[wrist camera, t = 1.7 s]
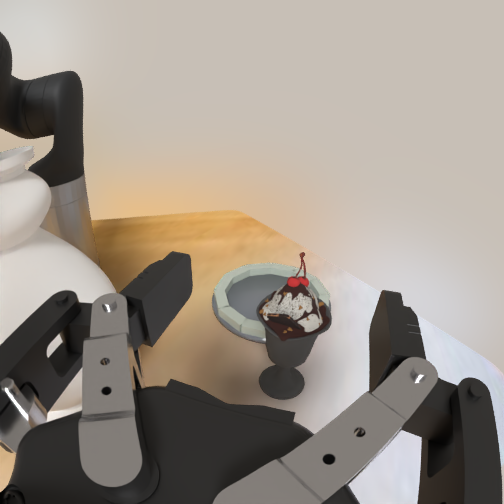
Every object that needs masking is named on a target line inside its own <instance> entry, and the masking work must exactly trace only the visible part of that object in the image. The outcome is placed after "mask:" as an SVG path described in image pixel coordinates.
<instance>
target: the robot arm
mask: <svg viewBox="0 0 504 504" xmlns="http://www.w3.org/2000/svg"><path fill="white" fill-rule="evenodd" d="M11 71H12V53H11V48H10V45H9V42H8V41H7V39H6V38H5V36H4V35H3V34H2V33H1V32H0V128H1V129H4V130H5V131H7V132H10V133H12V134H14V135H16V136H18V137H21V138H25V139H35V138H40V137H45V136H50V135H54V144H53V148H52V149H51V151H50V152H49V153H48V154H47V155H46V156H45V157H44V158H42V159H40V160H39V161H37V162H36V163H34V164H33V165H32V166H30V167H29V169H28V171H30V172H32V173H34V174H36V175H38V176H39V177H41V178H42V179H43V180H44V181H45V182H46V183H47V184H48V186H49V188H50V191H51V205H50V208H49V210H48V212H47V214H46V216H45V218H44V220H43V221H42V223H41V225H40V226H39V227H40V228H42V229H44V230H46V231H48V232H50V233H51V234H53V235H55V236H57V237H59V238H61V239H62V240H64V241H66V242H67V243H69V244H71V245H72V246H74V247H75V248H77V249H78V250H80V251H81V252H82V253H83V254H85V255H86V256H87V257H88V258H90V259H91V260H92V261H93V262H94V263H95V264H96V265H97V266H98V267H99V268H100V263H99V258H98V254H97V249H96V244H95V239H94V234H93V228H92V223H91V217H90V211H89V204H88V197H87V192H86V191H87V190H86V182H85V174H84V166H83V157H84V148H83V88H82V83H81V80H80V77H79V76H78V74H77V73H75V72H73V71H65V72H61V73H56V74H52V75H48V76H44V77H41V78H37V79H33V80H21V79H18V78H16V77H14V76H12V75H11ZM100 269H101V268H100ZM192 286H193V284H192V270H191V258H190V255H189V254H184V253H179V252H174V251H172V252H171V253H169V254H168V255H167V256H166V257H165V258H164V259H163V260H159V261H157V262H155V263H153V264H151V265H149V266H148V267H147V268H146V269H145V270H144V271H143V273H142V272H141V273H140V274H139V275H138V276H137V278H135V279H134V280H133V281H132V282H131V283H130V284H129V285H128V286H126V287H125V288H124V289H123V290H122V291H121V292H120V293H119V294H118V293H109V294H105V295H102V296H100V297H98V298H97V299H96V300H95V301H94V302H93V303H83V302H79V300H78V297H77V294H76V293H75V292H74V291H71V290H63V291H59V292H57V293H55V294H53V295H52V296H51V297H50V298H49V299H47V300H46V301H45V302H44V303H43V304H42V305H41V306H40V307H39V308H38V309H37V310H36V311H34V312H33V313H32V314H31V315H30V316H29V317H28V318H27V319H26V320H25V321H24V322H23V323H22V324H21V325H20V326H19V327H18V328H17V329H16V330H15V331H14V332H13V333H12V334H11V335H10V336H9V337H8V338H7V339H6V340H5V341H4V342H3V343H2V344H1V345H0V446H2V447H3V448H4V449H5V450H6V451H8V452H11V453H15V454H16V459H15V465H14V469H13V473H12V476H11V479H10V481H9V483H8V485H7V487H6V488H5V489H4V490H3V491H2V492H0V504H360V503H359V502H358V500H357V498H356V497H355V495H354V494H353V492H352V491H351V489H350V487H349V486H348V485H349V484H350V483H351V482H352V481H353V480H354V479H355V478H356V477H357V476H359V475H360V474H361V473H362V472H363V471H364V470H365V469H366V468H367V467H368V466H369V465H370V464H371V463H372V462H373V461H374V459H375V458H376V457H377V456H378V455H379V454H380V453H381V452H382V451H383V450H384V449H385V448H386V447H387V446H388V445H389V444H390V443H391V441H392V440H393V439H394V438H395V437H396V436H397V435H398V434H399V432H400V431H401V430H404V431H406V432H409V433H411V434H414V435H417V436H420V437H422V449H421V470H420V484H419V494H418V504H502V476H501V462H500V452H499V443H498V435H497V429H496V422H495V416H494V411H493V405H492V400H491V396H490V392H489V390H488V388H487V386H486V385H485V384H484V383H483V382H482V381H480V380H478V379H476V378H465V379H463V380H462V381H461V382H460V383H459V385H458V386H457V385H455V384H452V383H449V382H447V381H444V380H442V379H440V378H438V373H437V370H436V368H435V367H434V366H433V365H432V364H431V363H430V362H429V361H427V360H426V356H425V351H424V346H423V341H422V336H421V335H420V333H421V332H420V327H419V323H418V318H417V315H416V314H415V313H414V311H412V309H411V308H410V307H406V306H403V301H402V296H401V293H398V292H392V291H386V290H383V291H382V292H381V294H380V297H379V301H378V304H377V307H376V310H375V313H374V316H373V318H372V322H371V326H370V332H369V350H370V378H369V391H367V392H366V393H364V394H363V395H362V396H361V397H360V398H359V399H357V400H356V401H355V402H354V403H353V404H352V405H351V406H349V407H348V408H347V409H346V410H345V411H343V412H342V413H341V414H340V415H339V416H337V417H336V418H335V419H334V420H333V421H331V422H330V423H329V424H328V425H326V426H325V427H324V428H322V429H321V430H320V431H319V432H317V433H316V434H315V435H314V434H313V433H312V432H311V431H309V430H308V429H307V428H305V427H303V426H302V425H300V424H298V423H296V422H293V420H294V416H295V412H290V411H285V410H280V409H276V408H271V407H267V406H260V405H235V404H227V403H225V402H223V401H221V400H219V399H217V398H215V397H214V396H212V395H210V394H208V393H207V392H205V391H203V390H201V389H200V388H197V387H194V386H191V385H188V384H185V383H182V382H179V381H176V380H173V379H170V381H169V383H168V384H167V386H166V387H164V386H153V387H145V383H144V377H143V370H142V364H141V357H140V351H139V347H140V345H141V344H145V345H148V346H150V347H153V345H154V344H155V343H156V341H157V340H158V339H159V337H160V336H161V335H162V333H163V332H164V331H165V329H166V328H167V327H168V325H169V324H170V323H171V321H172V320H173V319H174V318H175V316H176V315H177V314H178V312H179V311H180V310H181V308H182V307H183V306H184V304H185V303H186V302H187V301H188V299H189V298H190V296H191V293H192ZM58 334H59V335H60V337H61V339H62V343H61V344H60V345H59V346H58V347H57V348H56V350H55V351H54V352H53V353H52V354H51V355H50V356H49V358H48V356H47V348H48V346H49V344H50V343H51V342H52V341H53V340H54V339H55V338H56V337H57V336H58ZM81 368H82V410H81V411H78V412H76V413H73V414H70V415H67V416H64V417H61V418H58V419H55V420H52V421H49V422H46V421H47V413H48V412H49V411H50V409H51V408H52V407H53V405H54V404H55V402H56V401H57V400H58V398H59V397H60V396H61V394H62V393H63V392H64V390H65V389H66V388H67V386H68V385H69V384H70V382H71V381H72V380H73V378H74V377H75V376H76V375H77V373H78V372H79V371H80V369H81Z"/></svg>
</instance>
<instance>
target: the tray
mask: <svg viewBox="0 0 504 504" xmlns="http://www.w3.org/2000/svg"><path fill="white" fill-rule="evenodd" d="M298 271H299V268H296V267H293V266H287V265H282V264H276V263H272V264H271V263H261V264H249V265H246V266H245V265H244V266H242V267H239V268H237V269H235V270H233V271H230V272H228V273H226V274H225V275H224V276H223V277H222V279H221V280H220V281H219V283H218V284H217V286H216V287H215V289H214V293H213V297H212V307H213V311H214V314H215V316H216V318H217V319H218V320H219V322H220V323H221V324H222V325H223V326H224V327H225V328H226V329H228V330H229V331H231V332H232V333H234V334H236V335H237V336H239V337H242V338H244V339H247V340H250V341H254V342H258V343H263V344H266V336H265V327H264V326H263V325H262V323H261V322H260V320H259V319H258V317H257V313H256V309H257V306H258V305H259V303H260V302H261V301H262V300H263V299H264V298H265V297H266V296H268V295H269V294H271V293H272V292H274V291H277V290H278V289H279V288H281V287H282V286H284V285H286V284H287V280H288V278H289V277H291V276H296V274H297V273H298ZM299 276H304V271H303V270H301V271H300V273H299V274H298V276H297V277H299ZM306 278H308V280H309V286H308V287H309V288H310V289H311V290H312V291H313V292H314V293H315V295H316V297H317V298H319V299H321V300H322V301H323V302H324V303H326V305H327V306H328V307H329V310H330V312H331V304H330V300H329V299H330V295H329V292H328V291H327V290H326V288H325V287H324V286H323V284H322V283H321V282H320V280H319V279H317V278H316V277H315V276H313V275H311V274H309V273H307V272H306Z"/></svg>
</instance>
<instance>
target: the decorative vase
mask: <svg viewBox="0 0 504 504" xmlns="http://www.w3.org/2000/svg"><path fill="white" fill-rule="evenodd" d="M33 157H34V149H33V146H26V147H21V148H15V149H12V150H7V151H4V152H0V345H1V344H2V343H3V342H4V341H5V340H6V339H7V338H8V337H9V336H10V335H11V334H12V333H13V332H14V331H15V330H16V329H17V328H18V327H19V326H20V325H21V324H22V323H23V322H24V321H25V320H26V319H27V318H28V317H29V316H30V315H31V314H32V313H33V312H34V311H36V310H37V309H38V308H39V307H40V306H41V305H42V304H43V303H44V302H45V301H46V300H47V299H49V298H50V297H51V296H52V295H53V294H55V293H57V292H59V291H63V290H71V291H74V292H75V293H76V294H77V297H78V300H79V302H83V303H93V302H94V301H95V300H96V299H97V298H98V297H100V296H102V295H105V294H109V293H117V292H116V290H115V288H114V286H113V284H112V283H111V281H110V280H109V278H108V277H107V276H106V274H105V273H104V272H103V271H102V270H101V269H100V268H99V267H98V266H97V265H96V264H95V263H94V262H93V261H92V260H91V259H90V258H88V257H87V256H86V255H85V254H83V253H82V252H81V251H80V250H78V249H77V248H75V247H74V246H72V245H71V244H69V243H67V242H66V241H64V240H62V239H61V238H59V237H57V236H55V235H53V234H51V233H50V232H48V231H46V230H44V229H42V228H40V227H39V226H40V225H41V223H42V221H43V220H44V218H45V216H46V214H47V212H48V210H49V208H50V205H51V191H50V188H49V186H48V184H47V183H46V182H45V181H44V180H43V179H42V178H41V177H39V176H38V175H36V174H34V173H32V172H30V171H28V170H26V169H25V164H26V163H27V162H28V161H30V160H31V159H32V158H33ZM61 343H62V339H61V337H60V335H59V334H58V336H57V337H56V338H55V339H54V340H53V341H52V342H51V343H50V344H49V346H48V348H47V356H48V358H49V356H50V355H51V354H52V353H53V352H54V351H55V350H56V348H57V347H58V346H59V345H60V344H61ZM81 410H82V368H81V369H80V371H79V372H78V373H77V375H76V376H75V377H74V378H73V380H72V381H71V382H70V384H69V385H68V386H67V388H66V389H65V390H64V392H63V393H62V394H61V396H60V397H59V398H58V400H57V401H56V402H55V404H54V405H53V407H52V408H51V409H50V411H49V412H48V413H47V421H46V422H49V421H52V420H55V419H58V418H61V417H64V416H67V415H70V414H73V413H76V412H78V411H81Z"/></svg>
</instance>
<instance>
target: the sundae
mask: <svg viewBox="0 0 504 504" xmlns="http://www.w3.org/2000/svg"><path fill="white" fill-rule="evenodd" d="M304 256H305V253H304V252H302V253H301V254H300V257H301V267H300V269H299V271H298V273H297V274H296V276H291V277H289V278H288V280H287V284H286V285H284V286H282V287H281V288H279V289H278V290H277V291H274V292H272V293H271V294H269V295H268V296H266V297H265V298H264V299H263V300H262V301H261V302H260V303H259V305H258V306H257V309H256V313H257V317H258V319H259V320H260V322H261V323H262V325H263V326H264V327H265V336H266V347H267V352H268V356H269V358H270V360H271V361H272V362H273V363H274V364H276V365H274V366H271V367H268V368H267V369H265V370H264V371H263V372H262V374H261V376H260V379H259V383H260V386H261V388H262V390H263V391H264V392H265V393H266V394H267V395H269V396H270V397H273V398H276V399H290V398H293V397H296V396H297V395H298V394H300V393H301V392H302V390H303V388H304V385H305V384H304V378H303V376H302V374H301V373H300V372H299V371H298V370H297V369H295V368H293V367H297V366H299V365H301V364H302V363H304V362H305V360H306V359H307V357H308V355H309V354H310V351H311V349H312V347H313V344H314V342H315V340H316V338H317V336H318V335H319V334H321V333H323V332H325V331H326V330H328V329H329V327H330V325H331V320H332V317H331V312H330V310H329V307H328V306H327V305H326V303H324V302H323V301H322V300H321V299H319V298H317V297H316V295H315V293H314V292H313V291H312V290H311V289H310V288H309V287H308V286H309V280H308V278H306V268H305V263H304V260H303V257H304ZM302 261H303V263H302ZM302 264H303V265H304V276H299V277H297V276H298V274H299V273H300V271H301V268H302Z"/></svg>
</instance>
